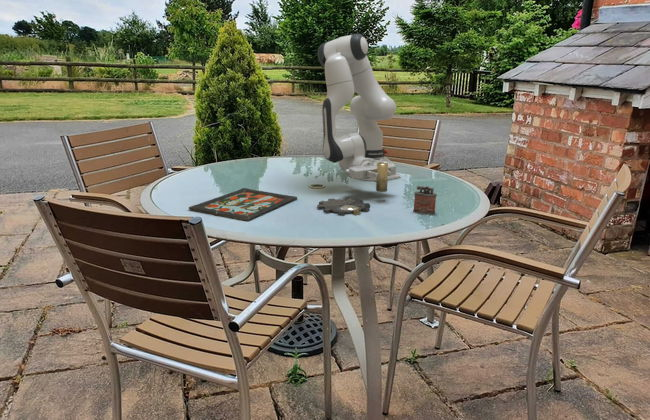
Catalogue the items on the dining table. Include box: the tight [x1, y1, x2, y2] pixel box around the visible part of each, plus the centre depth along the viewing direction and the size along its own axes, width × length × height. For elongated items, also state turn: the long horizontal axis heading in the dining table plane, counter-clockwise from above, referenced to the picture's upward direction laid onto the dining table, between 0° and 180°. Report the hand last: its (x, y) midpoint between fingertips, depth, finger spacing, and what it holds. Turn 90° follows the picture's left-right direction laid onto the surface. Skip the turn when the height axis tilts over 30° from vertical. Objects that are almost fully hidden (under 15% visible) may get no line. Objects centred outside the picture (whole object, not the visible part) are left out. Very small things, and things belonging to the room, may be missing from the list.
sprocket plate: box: [316, 197, 371, 217], centre depth 184 cm, size 20×20×1 cm
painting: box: [187, 187, 298, 222], centre depth 186 cm, size 28×35×2 cm
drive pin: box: [375, 162, 389, 193], centre depth 191 cm, size 4×4×11 cm
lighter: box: [412, 185, 437, 215], centre depth 178 cm, size 8×3×10 cm, turn 71°
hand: (383, 174), depth 190 cm, fingers closed on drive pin, 4 cm apart
